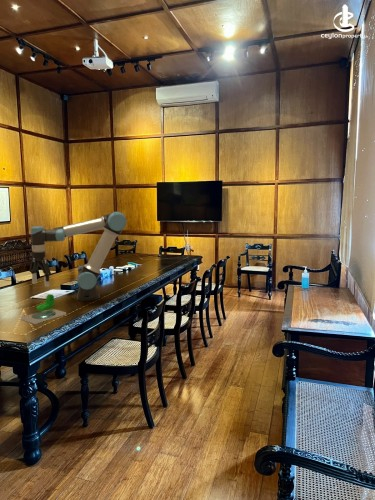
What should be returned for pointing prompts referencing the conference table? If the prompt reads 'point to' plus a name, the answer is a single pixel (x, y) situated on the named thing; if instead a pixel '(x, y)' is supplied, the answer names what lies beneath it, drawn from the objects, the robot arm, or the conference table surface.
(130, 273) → the conference table surface
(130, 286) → the conference table surface
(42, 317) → the carrier plate
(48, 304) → the mechanical part
